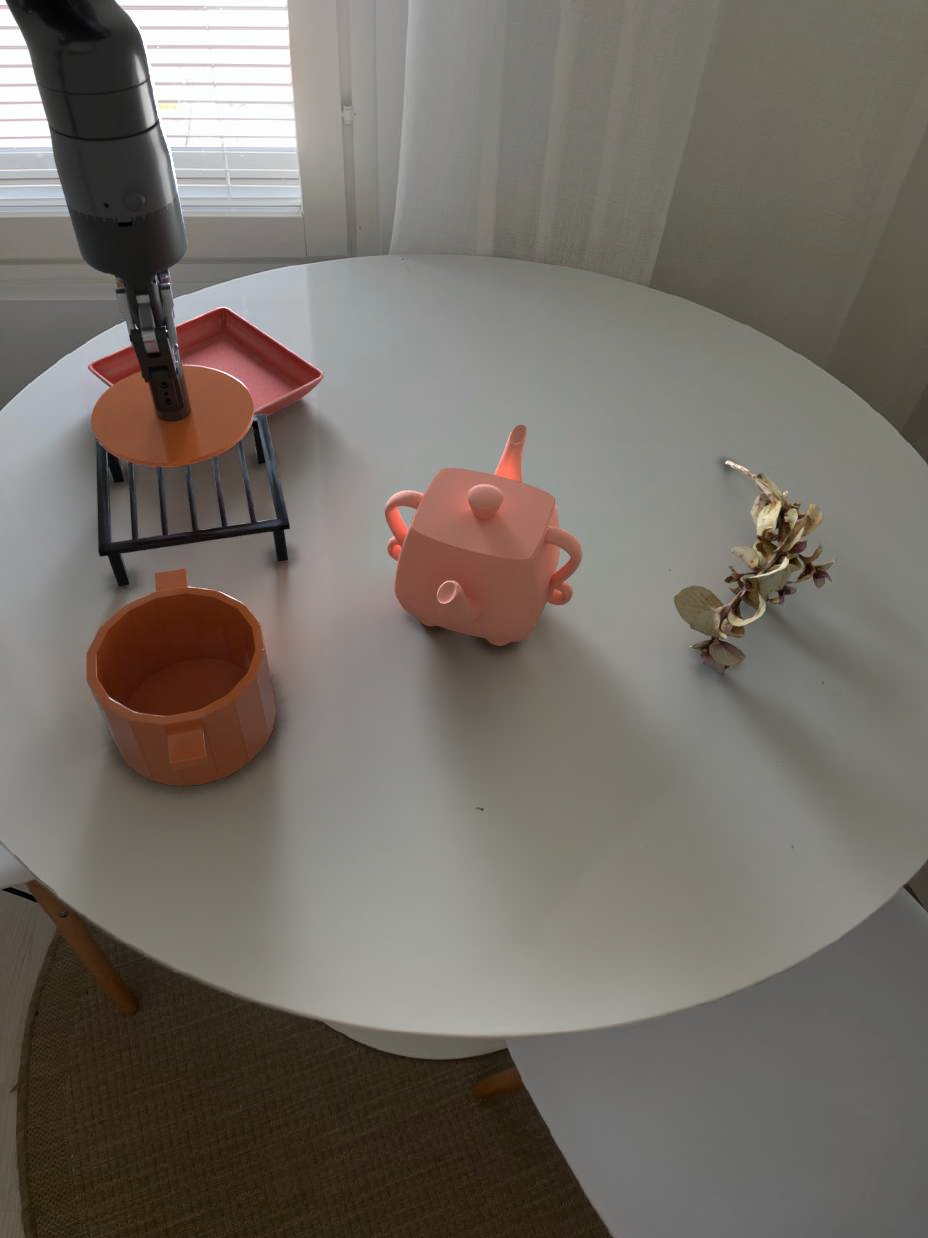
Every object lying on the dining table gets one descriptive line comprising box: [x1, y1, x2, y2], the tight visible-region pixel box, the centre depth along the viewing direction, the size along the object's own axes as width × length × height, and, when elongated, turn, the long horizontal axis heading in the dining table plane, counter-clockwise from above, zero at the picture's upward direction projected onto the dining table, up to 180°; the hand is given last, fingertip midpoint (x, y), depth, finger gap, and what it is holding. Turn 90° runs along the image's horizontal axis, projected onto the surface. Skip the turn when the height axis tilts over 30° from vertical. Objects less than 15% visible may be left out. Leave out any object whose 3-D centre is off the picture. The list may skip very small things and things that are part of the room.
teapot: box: [384, 424, 583, 647], centre depth 77 cm, size 15×17×13 cm
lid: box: [90, 344, 255, 468], centre depth 75 cm, size 13×13×7 cm
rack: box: [95, 414, 291, 587], centre depth 84 cm, size 16×16×5 cm
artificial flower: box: [673, 460, 837, 675], centre depth 83 cm, size 10×14×30 cm
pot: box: [85, 567, 277, 787], centre depth 69 cm, size 12×18×8 cm
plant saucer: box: [87, 306, 325, 417], centre depth 97 cm, size 18×18×3 cm
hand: (169, 394), depth 76 cm, fingers closed on lid, 3 cm apart
